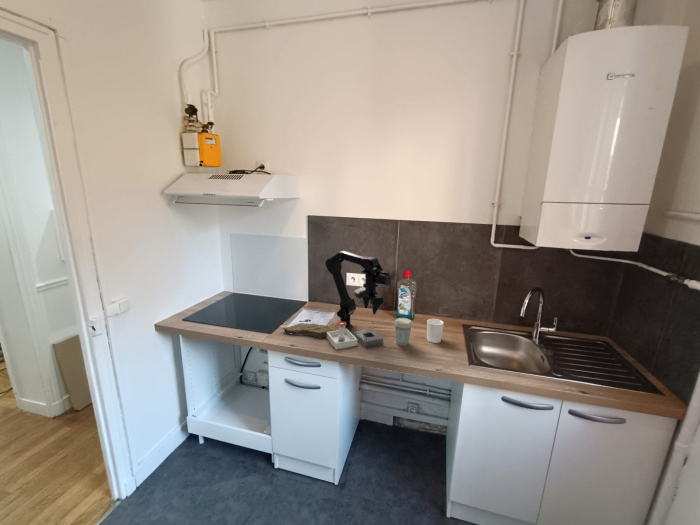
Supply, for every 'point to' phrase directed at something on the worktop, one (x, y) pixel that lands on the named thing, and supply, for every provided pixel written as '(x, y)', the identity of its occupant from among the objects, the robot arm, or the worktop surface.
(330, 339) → the parts tray
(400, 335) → the coffee cup
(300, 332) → the stone slab
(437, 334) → the white cup
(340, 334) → the grey copper-tipped cylinder
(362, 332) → the block
